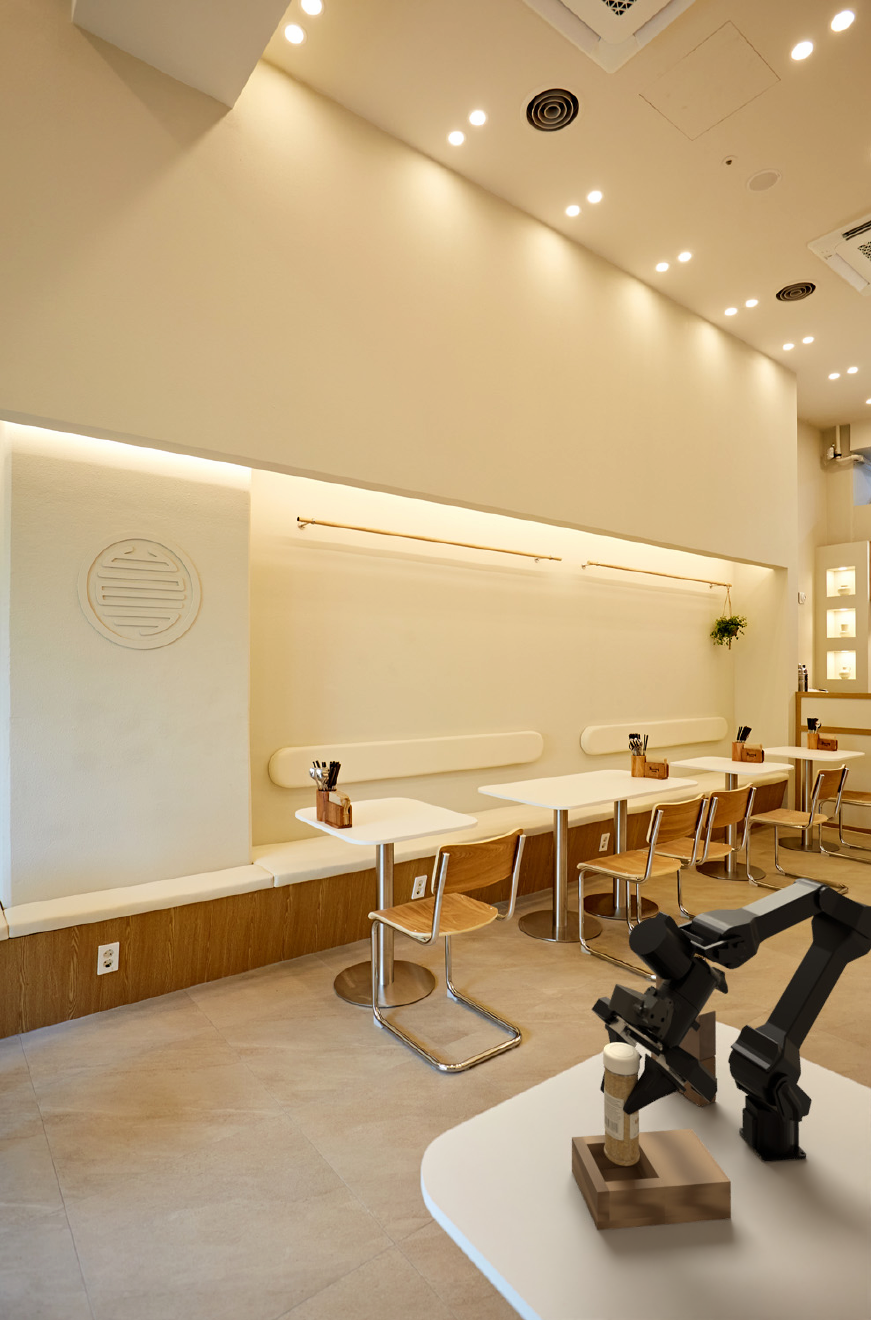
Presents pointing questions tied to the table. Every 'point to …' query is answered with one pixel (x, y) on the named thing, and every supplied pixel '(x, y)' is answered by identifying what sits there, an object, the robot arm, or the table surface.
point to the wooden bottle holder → (651, 1182)
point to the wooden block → (699, 1048)
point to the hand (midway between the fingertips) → (613, 1102)
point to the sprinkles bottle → (620, 1103)
